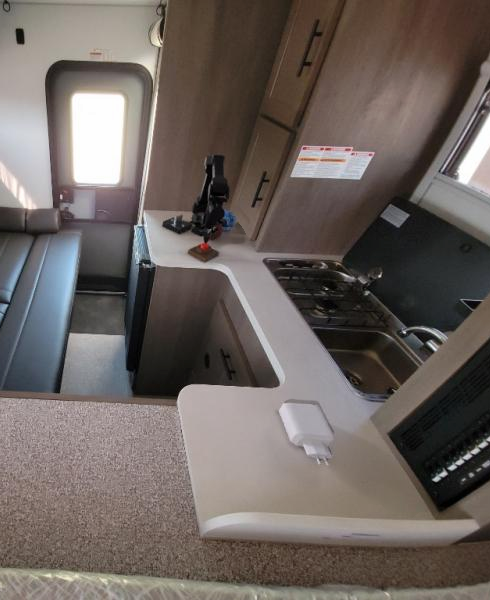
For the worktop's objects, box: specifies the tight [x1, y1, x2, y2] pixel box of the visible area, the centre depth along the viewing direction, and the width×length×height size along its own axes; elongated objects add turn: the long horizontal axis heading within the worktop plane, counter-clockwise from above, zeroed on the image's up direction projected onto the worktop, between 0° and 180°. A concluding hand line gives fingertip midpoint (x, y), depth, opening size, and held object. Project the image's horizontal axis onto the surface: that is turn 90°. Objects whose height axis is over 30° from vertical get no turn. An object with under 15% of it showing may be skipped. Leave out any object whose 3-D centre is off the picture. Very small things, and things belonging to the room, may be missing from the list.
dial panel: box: [161, 216, 193, 235], centre depth 177 cm, size 10×12×3 cm
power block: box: [187, 243, 220, 263], centre depth 155 cm, size 10×10×4 cm
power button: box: [200, 242, 210, 250], centre depth 153 cm, size 4×4×2 cm
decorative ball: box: [209, 224, 224, 241], centre depth 165 cm, size 10×10×10 cm
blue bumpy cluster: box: [221, 209, 237, 232], centre depth 171 cm, size 12×7×12 cm, turn 88°
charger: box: [278, 402, 336, 467], centre depth 82 cm, size 5×9×15 cm
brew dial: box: [173, 213, 184, 224], centre depth 175 cm, size 5×1×4 cm, turn 128°
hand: (205, 243), depth 152 cm, fingers closed
